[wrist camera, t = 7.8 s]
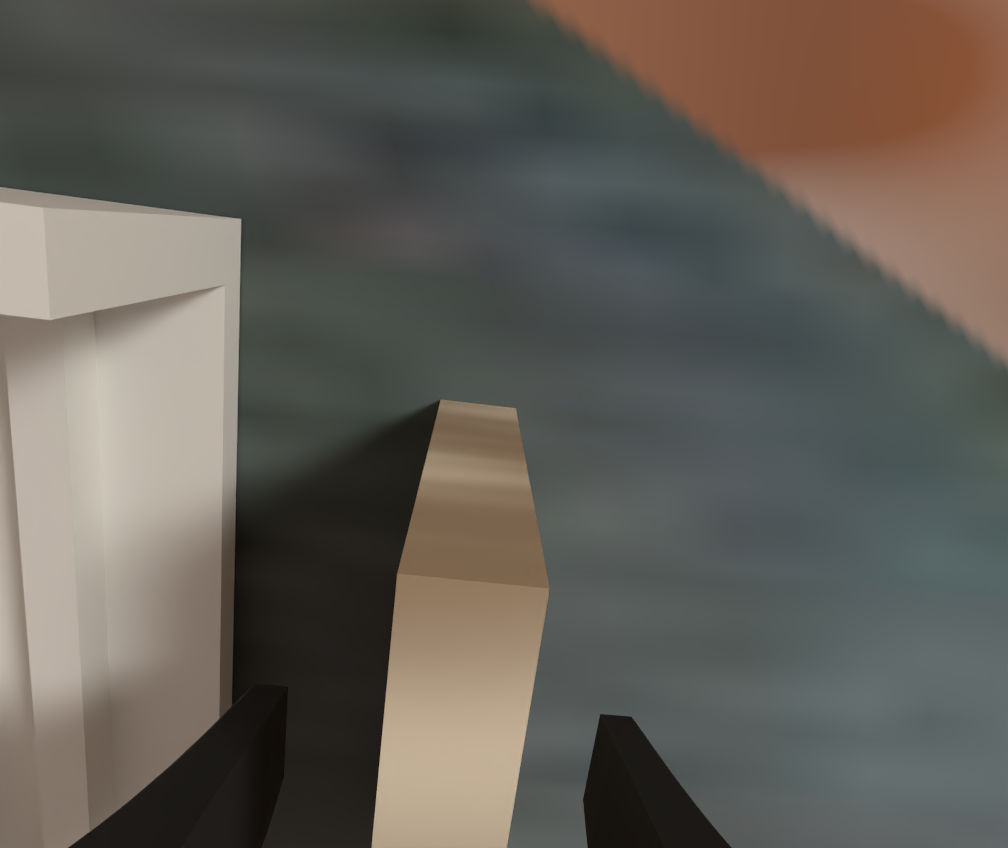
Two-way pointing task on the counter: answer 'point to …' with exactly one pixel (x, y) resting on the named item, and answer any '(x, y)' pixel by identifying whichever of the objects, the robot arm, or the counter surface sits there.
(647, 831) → the robot arm
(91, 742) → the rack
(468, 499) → the tall sheet
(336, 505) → the counter surface
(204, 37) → the counter surface
